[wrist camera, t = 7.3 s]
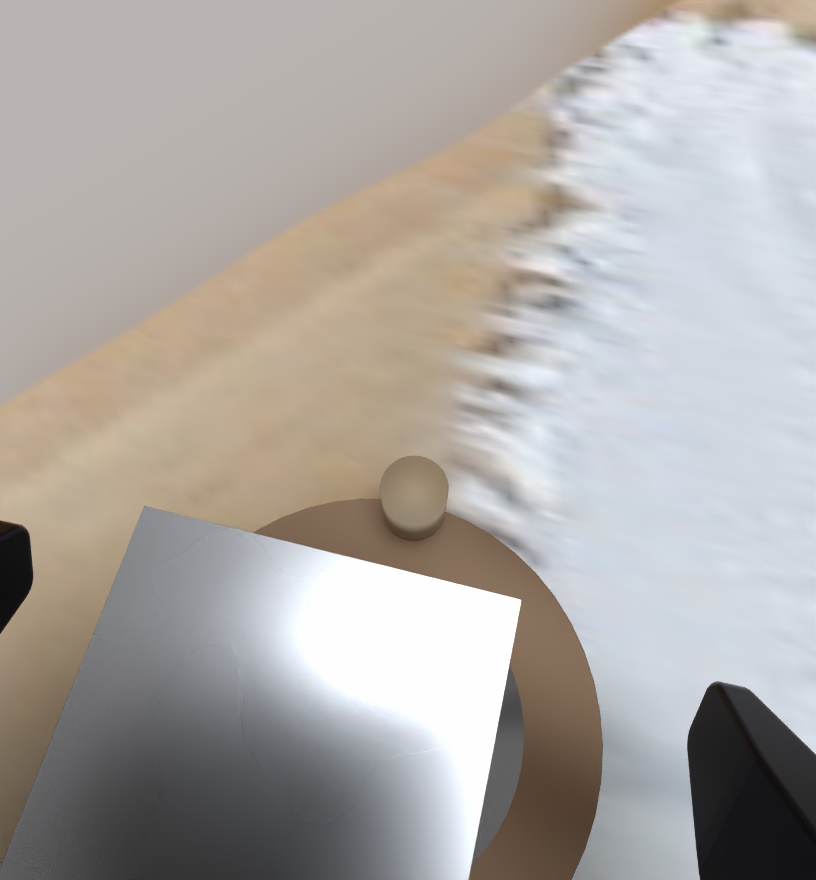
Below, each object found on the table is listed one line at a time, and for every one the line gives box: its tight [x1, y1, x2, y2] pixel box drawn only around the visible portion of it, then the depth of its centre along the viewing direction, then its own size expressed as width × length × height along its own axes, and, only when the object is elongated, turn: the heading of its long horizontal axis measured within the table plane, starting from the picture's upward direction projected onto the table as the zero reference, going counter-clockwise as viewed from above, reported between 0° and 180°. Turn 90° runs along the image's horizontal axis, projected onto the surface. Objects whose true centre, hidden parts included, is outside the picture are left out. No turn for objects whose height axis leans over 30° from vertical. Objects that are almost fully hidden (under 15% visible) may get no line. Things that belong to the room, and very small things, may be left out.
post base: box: [254, 456, 603, 880], centre depth 16 cm, size 12×11×3 cm
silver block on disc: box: [0, 506, 524, 880], centre depth 11 cm, size 7×7×12 cm
